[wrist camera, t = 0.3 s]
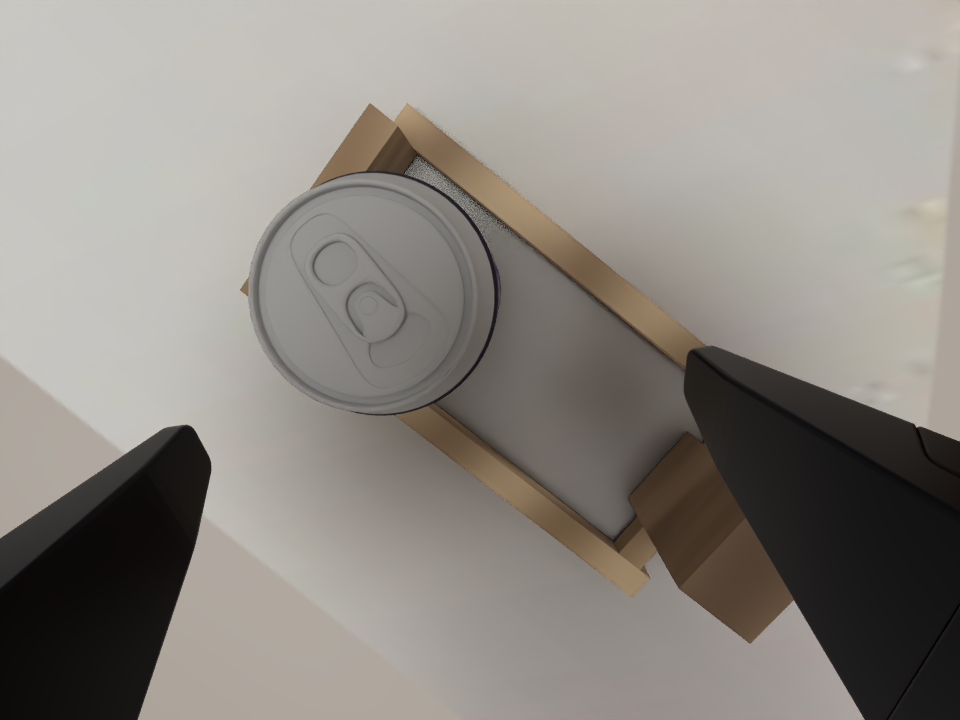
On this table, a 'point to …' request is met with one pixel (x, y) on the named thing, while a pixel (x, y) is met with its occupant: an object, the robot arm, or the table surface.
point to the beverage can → (374, 293)
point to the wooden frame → (672, 483)
